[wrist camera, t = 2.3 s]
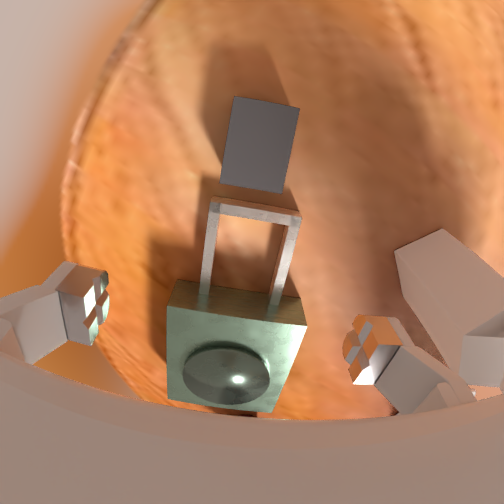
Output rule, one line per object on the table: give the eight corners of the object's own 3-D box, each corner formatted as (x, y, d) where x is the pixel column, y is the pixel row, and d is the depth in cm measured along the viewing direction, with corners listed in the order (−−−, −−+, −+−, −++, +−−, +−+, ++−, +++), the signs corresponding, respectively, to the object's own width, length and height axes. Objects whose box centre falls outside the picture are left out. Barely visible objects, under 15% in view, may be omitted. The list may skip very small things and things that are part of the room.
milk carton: (402, 296, 34) (474, 415, 17) (392, 249, 31) (487, 371, 14) (447, 273, 32) (531, 374, 15) (441, 226, 30) (550, 323, 13)
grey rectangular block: (291, 109, 25) (299, 108, 20) (276, 180, 28) (281, 193, 23) (237, 99, 25) (234, 96, 20) (224, 171, 28) (219, 183, 23)
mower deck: (324, 216, 29) (340, 239, 24) (270, 385, 40) (272, 417, 35) (185, 191, 28) (170, 210, 23) (174, 372, 39) (166, 403, 34)
